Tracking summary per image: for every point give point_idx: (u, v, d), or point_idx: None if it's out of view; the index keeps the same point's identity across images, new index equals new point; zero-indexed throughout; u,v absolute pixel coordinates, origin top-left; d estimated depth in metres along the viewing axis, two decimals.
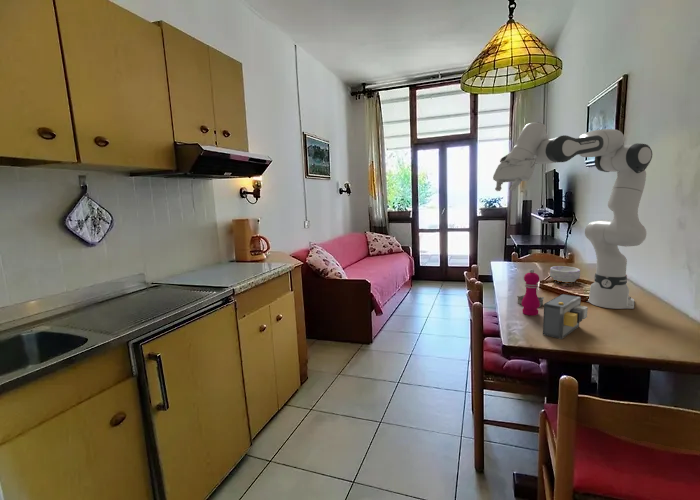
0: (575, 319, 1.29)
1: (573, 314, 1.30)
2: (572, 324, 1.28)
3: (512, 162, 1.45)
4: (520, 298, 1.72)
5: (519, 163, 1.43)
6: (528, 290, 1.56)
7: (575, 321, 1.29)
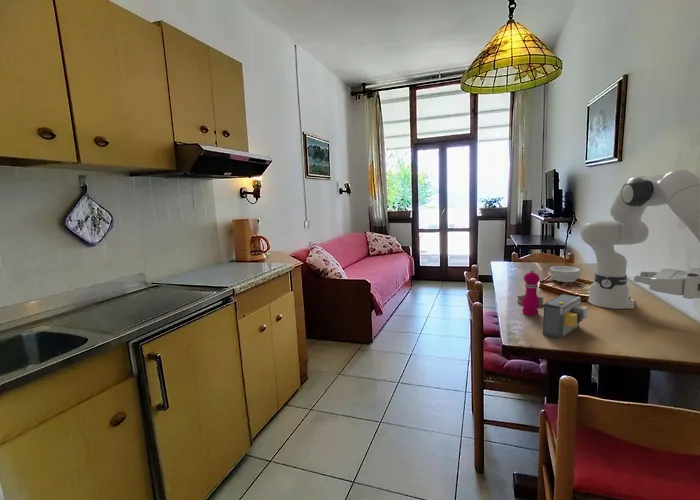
0: (575, 319, 1.29)
1: (573, 314, 1.30)
2: (572, 324, 1.28)
3: None
4: (520, 298, 1.73)
5: None
6: (528, 290, 1.56)
7: (575, 321, 1.29)
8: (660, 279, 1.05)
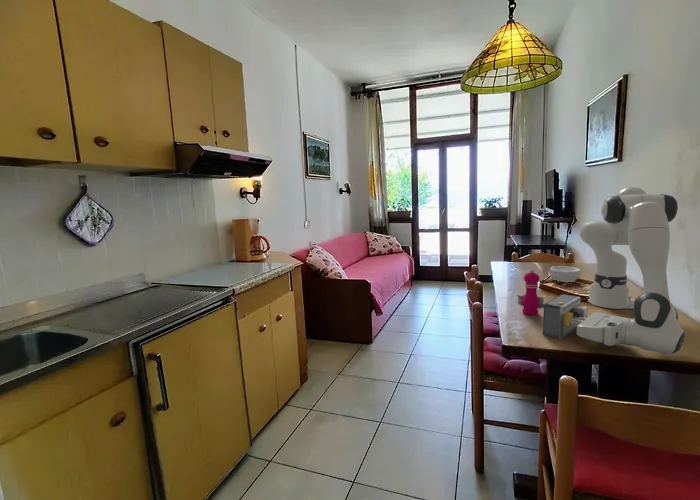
0: None
1: (569, 313, 1.31)
2: (568, 323, 1.29)
3: None
4: (520, 297, 1.74)
5: None
6: (528, 290, 1.56)
7: None
8: (584, 327, 1.18)
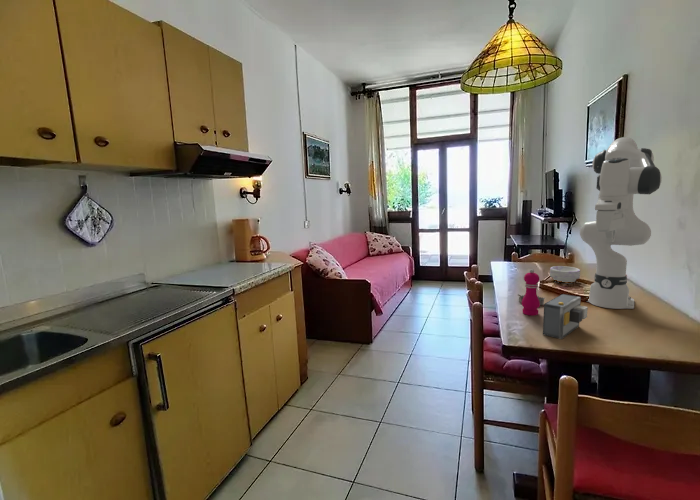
0: (567, 317, 1.31)
1: None
2: (564, 322, 1.30)
3: (622, 211, 1.28)
4: (520, 296, 1.75)
5: None
6: (528, 290, 1.56)
7: (567, 319, 1.31)
8: (597, 224, 1.25)
